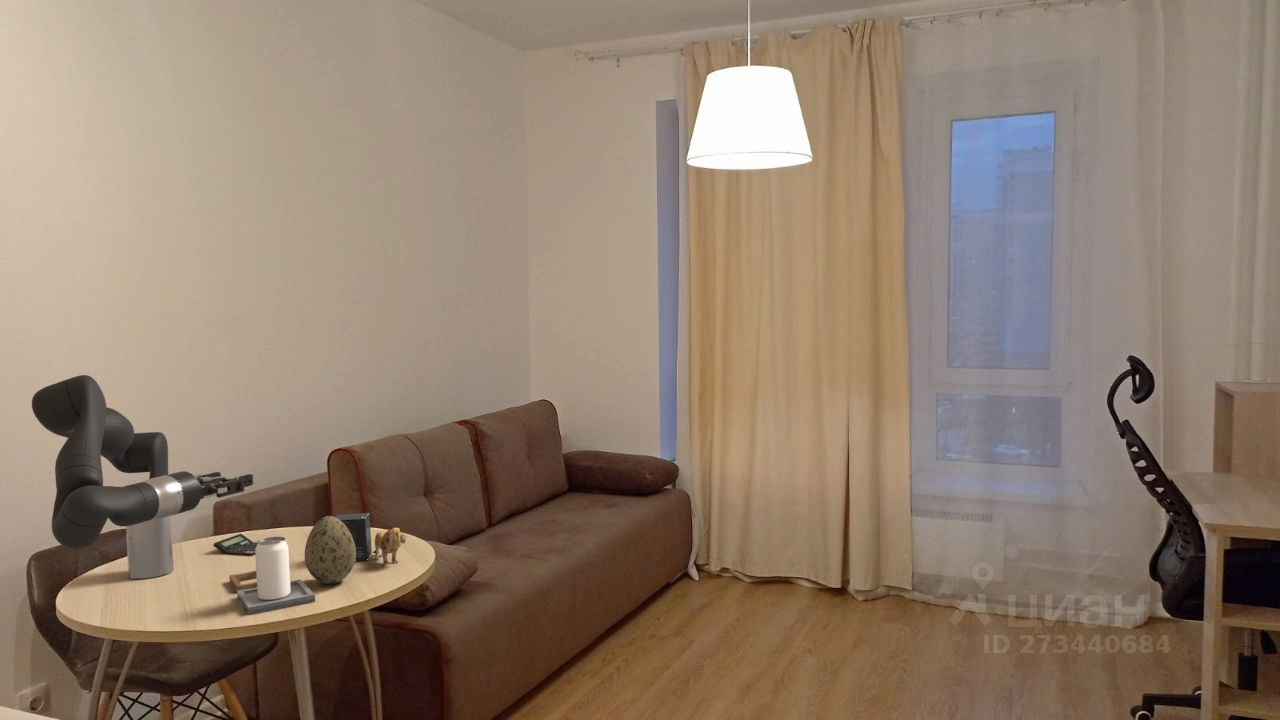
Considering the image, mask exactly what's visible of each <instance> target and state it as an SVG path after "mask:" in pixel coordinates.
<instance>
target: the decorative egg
mask: <svg viewBox="0 0 1280 720" xmlns="http://www.w3.org/2000/svg"><path fill="white" fill-rule="evenodd" d="M355 559H356V548H355V543H354V540H353V537H352V535H351V533H350V531H349V530H348V528H347V527H346V526H345V524H344V523H343V522H342V521H340V520H339V519H338V518H336V516H333V515H326V516H323V517H321V518H320V519H319V520H318V521H317V522H316V523H315V524H314V526H313V527H312V529H311V530H310V533H309V534H308V536H307V539H306V543H305V548H304V562H305V565H306V569H307V571H308V572H309V574H310V575H311V577H313V578H314V579H315V580H316V581H318V582H320V583H323V584H327V585H331V584H337V583H340V582H342V581H343V580H344V579H346V578H347V577H348V575H349V574H350V573H351V572H352V570H353V568H354V566H355V563H356V561H355Z"/></svg>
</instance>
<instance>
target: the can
mask: <svg viewBox="0 0 1280 720" xmlns="http://www.w3.org/2000/svg"><path fill="white" fill-rule="evenodd" d="M256 543H257V546H256V549H255V555H254V556H255V571H256V574H257V578H256V582H257V590H258V597H259V598H260V599H261V600H266V601H271V600H278V599H282V598H285V597H287V596H288V595H289V594H290V592H291V587H290V581H291V572H290V571H291V570H290V555H289V554H290V553H289V545H288V543H287V542H286V537H284V536H270V537H264V538H261V539H258V540H257V541H256Z"/></svg>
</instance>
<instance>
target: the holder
mask: <svg viewBox="0 0 1280 720" xmlns="http://www.w3.org/2000/svg"><path fill="white" fill-rule="evenodd" d="M228 578H229V579H228V580H229V583H230V585H231V586H232V587H233V590H235V592H236V593H237V591H240V590H246V589H251V588H256V587H257V581H253V582H247V583H241V582H243V581H249V580H254V579H257V574H256V570H253V571H252V570H251V571H246V572H240V573H235V574H230V575H228Z"/></svg>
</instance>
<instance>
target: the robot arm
mask: <svg viewBox="0 0 1280 720" xmlns="http://www.w3.org/2000/svg"><path fill="white" fill-rule="evenodd" d="M31 409H32V412H33V414H34V417H35V418H36V419H37V421H38V422H39V423H40V425H41V426H43V427H44V429H46V430H47V431H48V432H51V433H53V434H55V435H57V436H60V437H64V438H67V439H66V441H65V442H64V444H63V446H62V447H61V448H60V450H59V451H58V453H57V457H56V459H55V464H54V465H55V466H54V467H55V468H54V474H55V487H56V495H55V501H54V505H53V511H52V518H51V532H52V534H53V537H54V539H55V540H56V542H57V543H59V544H60V545H61V546H62V547H65V548H67V549H72V550H80V549H85V548H88V547H89V546H91V545H93V543H95V542H96V541H97V539H98V538H99V536H101V533H102V530H103V528H104V527H105V524H106V523H107V521H108V520H109V521H110V522H111V523H112V524H113V525H115V526H118V527H125V528H126V529H125V530H126V531H125V532H126V534H125V540H126V553H127V554H126V555H127V556H126V557H127V568H128V575H129V579H130V580H136V579H150V578H156V577H162V576H165V575H168V574H170V573H172V572H174V570H175V568H174V552H173V539H172V521H171V520H172V519H171V517H172V516H176V515H179V514H182V513H186V512H190V511H193V510H194V509H196V507H198V505H199V504H200V502H201V500H203V499H204V500H206V499H210V498H212V497H216V498H219V499H221V498H223V497H227V496H232V495H236V494H238V493H243V492H245V488H247V487H250V486H253V485H254V475H253V474H250V473H247V474H244V475H240V476H234V477H229V478H228V477H226V476H224V475H221V472H220V471H214V472H210V473H206V474H192V473H191V472H189V471H186V470H185V471H184V470H183V471H178V472H174V473H173V472H172V473H169V447H168V440H167V437H166V436H165V434H164V433H163V432H160V431H158V432H157V431H149V432H148V431H147V432H135V429H134V426H133V424H132V422H131V420H130V419H128V418H127V416H124V415H123V414H122V413H120V412H119V411H118V410H115V409H114V408H110V407H107V402H106V398H105V395H104V392H103V391H102V388H101V386H100V384H98V382H97V381H96V379H94V378H93V377H92V376H91V375H87V374H83V375H77V376H72V377H70V378H68V379H64V380H61V381H58V382H55V383H52V384H50V385H48V386H44V387H43V388H40V389H39V390H37V391H36V392H35V393H34V395H33V397H32V399H31ZM102 457H103V459H106V460H107V461H108V462H109V463H110V464H112V466H113V467H114V468H115V469H116V470H118V471H119V472H121V473H125V474H137V473H138V474H139V473H140V474H141V473H142V474H143V473H149V477H148V479H147V480H144V481H140V482H136V483H132V484H128V485H125V486H114V485H104V477H103V466H102Z"/></svg>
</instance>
